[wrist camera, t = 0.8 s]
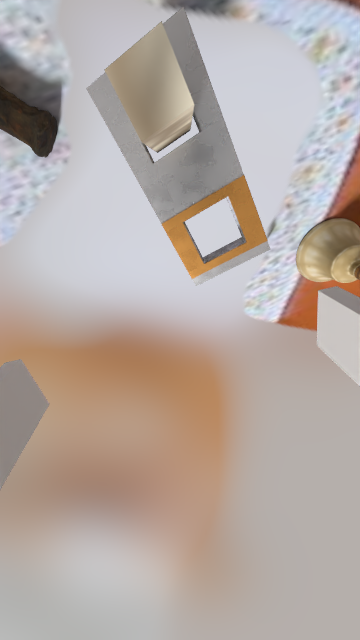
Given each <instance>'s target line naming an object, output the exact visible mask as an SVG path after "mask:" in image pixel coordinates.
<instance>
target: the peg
mask: <svg viewBox="0 0 360 640" xmlns="http://www.w3.org/2000/svg"><path fill="white" fill-rule="evenodd" d="M105 72H106V74H107V76H108V78H109V80H110V82H111V84H112V86H113V88H114V90H115V92H116V93H117V95H118V97H119V99H120V101H121V103H122V105H123V107H124V109H125V111H126V113H127V115H128V117H129V119H130V121H131V123H132V125H133V127H134V129H135V131H136V132H137V134H138V136H139V138H140V140H141V142H142V143H144V144H145V145H147V146H148V147H150V148H151V149H153V150H154V151H156V152H157V153H158V152H159V151H161V150H162V149H164V148H165V147H167V146H168V145H170V144H171V143H173V142H174V141H175V140H177V139H178V138H180V137H181V136H182V135H184V134H186V133H187V132H189V131H190V127H191V121H192V116H193V110H194V102H193V99H192V97H191V94H190V92H189V89H188V87H187V84H186V82H185V79H184V77H183V74H182V72H181V69H180V67H179V64H178V62H177V59H176V56H175V54H174V51H173V49H172V46H171V44H170V41H169V39H168V36H167V34H166V31H165V29H164V26H163V24H162V22H160V23H159V24H158V25H157V26H156V27H154V28H153V29H152V30H151V31H150V32H148V33H147V34H146V35H145V36H144V37H143V38H141V39H140V40H139V41H138V42H137V43H136V44H134V45H133V46H132V47H131V48H130V49H128V50H127V51H126V52H125V53H124V54H123V55H122V56H120V57H119V58H118V59H117V60H116V61H114V62H113V63H112V64H111V65H110V66H109V67H107V68H106V69H105Z"/></svg>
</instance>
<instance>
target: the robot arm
mask: <svg viewBox="0 0 360 640" xmlns="http://www.w3.org/2000/svg"><path fill="white" fill-rule="evenodd" d="M317 346H318V347H319V348H320V349H321V350H322V351H323V352H324V353H325V354H326V355H327V356H328V357H330V358H331V359H332V360H333V361H334V362H335V363H336V364H337V365H338V366H339V367H340V368H341V369H342V370H343V371H344V372H345V373H346V374H347V375H348V376H350V378H352V379H353V380H354V381H355V382H356V383H357V384H358V385H359V386H360V298H359V297H357V296H355V295H353V294H351V293H349V292H347V291H345V290H343V289H341V288H339V287H337V286H336V287H332V288H327V289H323V290H319V291H318V321H317ZM48 406H49V403H48V401H47V399H46V398H45V396H44V395H43V393H42V391H41V390H40V388H39V387H38V385H37V384H36V382H35V380H34V379H33V377H32V376H31V374H30V373H29V371H28V369H27V368H26V366H25V365H24V363H23V362H22V360H21V359H19V360H15V361H11V362H6V363H4V364H3V365H2V366H1V367H0V489H1V488H2V486H3V484H4V482H5V481H6V479H7V477H8V476H9V474H10V472H11V470H12V469H13V467H14V465H15V463H16V461H17V460H18V458H19V456H20V454H21V453H22V451H23V449H24V448H25V446H26V444H27V442H28V441H29V439H30V437H31V435H32V433H33V432H34V430H35V428H36V427H37V425H38V423H39V421H40V419H41V418H42V416H43V414H44V413H45V411H46V409H47V408H48Z"/></svg>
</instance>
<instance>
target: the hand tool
mask: <svg viewBox="0 0 360 640" xmlns="http://www.w3.org/2000/svg"><path fill="white" fill-rule="evenodd" d="M0 129H2V130H3V131H5V132H7V133H8V134H10V135H12V136H13V137H16V138H17V139H19V140H21V141H22V142H24V143H26V144H27V145H29V146H30V147H31V148H32V150H33V151H34V153H35V154H36V155H37V156H40V157H47V156H48V155H49V153H50V152H51V151H52V147H53V144H54V142H55V139H56V133H57V121H56V119H55V118H54V117H52V115H51V114H50V113H49V112H48V111H45V110H39V109H38V108H36V107H30V106H29V105H27V104H26V103H25V102H23V101H22V100H20V99H19V98H17V97H16V96H15V95H13V94H12V93H10V92H8V91H6V90H5V89H4V88H3V87H1V86H0Z"/></svg>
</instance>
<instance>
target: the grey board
mask: <svg viewBox="0 0 360 640" xmlns="http://www.w3.org/2000/svg"><path fill="white" fill-rule="evenodd" d="M163 26H164V29H165V31H166V34H167V36H168V39H169V41H170V44H171V46H172V49H173V51H174V54H175V56H176V59H177V62H178V64H179V67H180V69H181V72H182V74H183V77H184V79H185V82H186V84H187V87H188V89H189V92H190V94H191V97H192V99H193V102H194V110H193V117H194V120H195V122H196V125H197V127H198V129H199V132H200V133H198V134H197V135H195V136H194V137H192V138H191V139H189V140H188V141H186V142H185V143H183V144H182V145H180V146H179V147H177V148H176V149H174V150H173V151H171V152H170V153H168V154H167V155H166V156H164V157H163V158H161V159H160V160H158V161H157V162H155V163H154V161H153V159H152V157H151V155H150V153H149V151H148V149H147V147H146V145H145V144H144V143H142V142H141V140H140V138H139V136H138V134H137V132H136V131H135V129H134V127H133V125H132V123H131V121H130V119H129V117H128V115H127V113H126V111H125V109H124V107H123V105H122V103H121V101H120V99H119V97H118V95H117V93H116V92H115V90H114V88H113V86H112V84H111V82H110V80H109V78H108V76H107V74H106V72H105V73H104V74H103V75H102V76H101V77H99V78H98V79H97V80H96V81H95V82H94V83H92V84H91V85H90V86H89V87H88V88H87V90H88V92H89V94H90V96H91V98H92V99H93V101H94V103H95V105H96V107H97V108H98V110H99V112H100V114H101V116H102V117H103V119H104V121H105V123H106V125H107V126H108V128H109V130H110V132H111V133H112V135H113V137H114V139H115V141H116V142H117V144H118V146H119V148H120V149H121V152H122V153H123V155H124V157H125V159H126V161H127V162H128V164H129V166H130V168H131V169H132V171H133V173H134V175H135V177H136V178H137V180H138V182H139V184H140V186H141V188H142V189H143V191H144V193H145V195H146V196H147V198H148V200H149V202H150V204H151V205H152V207H153V209H154V211H155V213H156V214H157V216H158V218H159V220H160V222H161V223H162V226H163V228H164V229H165V231H166V233H167V235H168V236H169V238H170V240H171V242H172V244H173V246H174V247H175V249H176V251H177V253H178V254H179V256H180V258H181V260H182V262H183V263H184V265H185V267H186V269H187V270H188V272H189V274H190V276H191V278H192V279H193V281H194V283H195V284H196V286H197V285H199V284H201V283H203V282H205V281H207V280H209V279H211V278H213V277H215V276H217V275H219V274H221V273H223V272H225V271H227V270H229V269H231V268H233V267H235V266H237V265H240V264H241V263H244V262H245V261H247V260H250V259H251V258H254V257H256V256H258V255H260V254H262V253H264V252H266V251H268V250H270V247H269V244H268V241H267V238H266V235H265V232H264V229H263V227H262V224H261V221H260V218H259V215H258V212H257V210H256V207H255V204H254V201H253V198H252V196H251V193H250V190H249V187H248V184H247V182H246V179H245V176H244V174H243V172H242V169H241V166H240V163H239V161H238V158H237V155H236V152H235V149H234V147H233V144H232V141H231V138H230V135H229V133H228V130H227V127H226V124H225V121H224V118H223V116H222V113H221V110H220V107H219V105H218V102H217V99H216V96H215V94H214V90H213V88H212V85H211V82H210V79H209V77H208V74H207V71H206V68H205V65H204V63H203V60H202V57H201V54H200V51H199V49H198V46H197V43H196V40H195V38H194V35H193V33H192V29H191V26H190V24H189V21H188V18H187V15H186V12H185V9H184V7H182V8H181V9H180V10H179V11H178V12H176V13H175V14H174V15H173V16H172V17H171V18H169V19H168V20H167V21H166V22H165V23H163ZM224 198H227V201H228V203H229V206H230V208H231V211H232V213H233V216H234V218H235V220H236V223H237V225H238V228H239V230H240V233H241V235H242V238H239V239H237V240H236V241H234V242H232V243H230V244H228V245H226V246H224V247H222V248H220V249H219V250H216V251H215V252H213V253H211V254H209V255H207V256H205V257H202V255H201V253H200V251H199V250H198V248H197V246H196V244H195V242H194V240H193V238H192V236H191V234H190V232H189V230H188V228H187V226H186V224H185V222H184V221H186V220H188V219H189V218H191V217H193V216H194V215H196V214H198V213H200V212H201V211H203V210H205V209H207V208H208V207H210V206H212V205H213V204H215V203H217V202H219V201H220V200H222V199H224Z"/></svg>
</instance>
